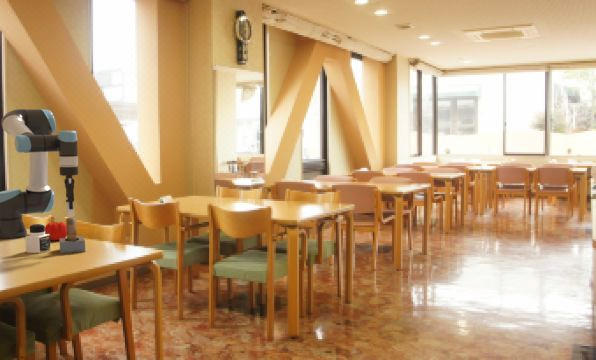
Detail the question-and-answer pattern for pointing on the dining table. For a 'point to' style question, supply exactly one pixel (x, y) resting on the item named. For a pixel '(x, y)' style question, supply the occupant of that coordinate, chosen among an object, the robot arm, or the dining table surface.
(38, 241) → the medicine bottle
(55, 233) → the red bell pepper
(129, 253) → the dining table surface
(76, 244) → the socket
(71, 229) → the peg
